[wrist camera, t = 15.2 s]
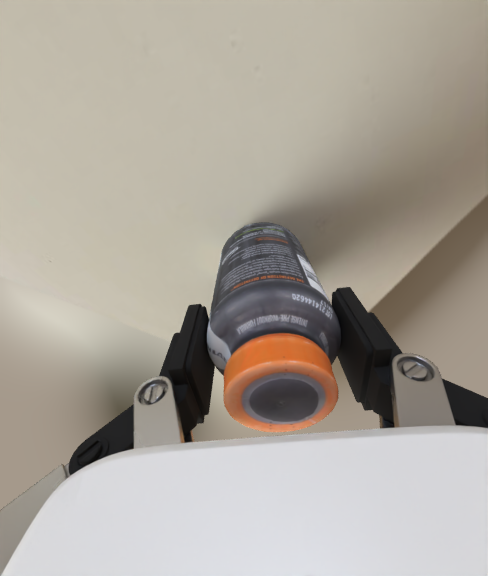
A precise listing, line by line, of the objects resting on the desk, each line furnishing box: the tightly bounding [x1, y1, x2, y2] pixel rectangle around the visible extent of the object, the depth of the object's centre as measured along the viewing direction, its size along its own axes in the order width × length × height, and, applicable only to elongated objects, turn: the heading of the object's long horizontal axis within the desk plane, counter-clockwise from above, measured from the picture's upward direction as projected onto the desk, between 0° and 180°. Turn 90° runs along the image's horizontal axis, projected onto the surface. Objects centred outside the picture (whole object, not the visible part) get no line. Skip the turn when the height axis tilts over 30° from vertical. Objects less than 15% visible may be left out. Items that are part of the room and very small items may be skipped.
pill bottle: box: [207, 223, 341, 432], centre depth 13 cm, size 6×6×11 cm
